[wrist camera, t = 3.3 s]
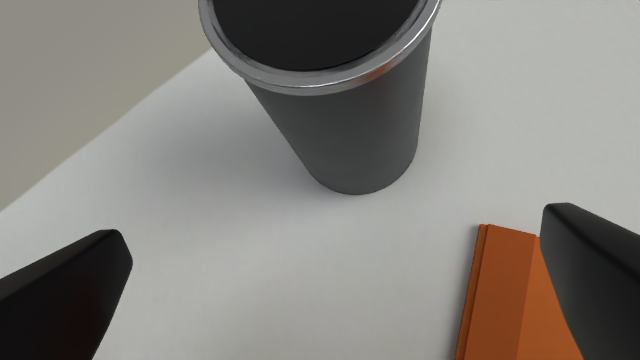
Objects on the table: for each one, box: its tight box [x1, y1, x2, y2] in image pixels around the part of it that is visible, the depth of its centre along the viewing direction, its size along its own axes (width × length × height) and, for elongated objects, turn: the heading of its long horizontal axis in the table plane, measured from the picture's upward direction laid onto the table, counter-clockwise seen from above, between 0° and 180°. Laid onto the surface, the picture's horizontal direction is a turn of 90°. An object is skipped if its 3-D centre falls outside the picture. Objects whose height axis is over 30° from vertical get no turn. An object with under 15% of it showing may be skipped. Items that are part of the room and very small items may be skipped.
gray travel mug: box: [198, 0, 442, 195], centre depth 18 cm, size 11×7×13 cm, turn 1°
